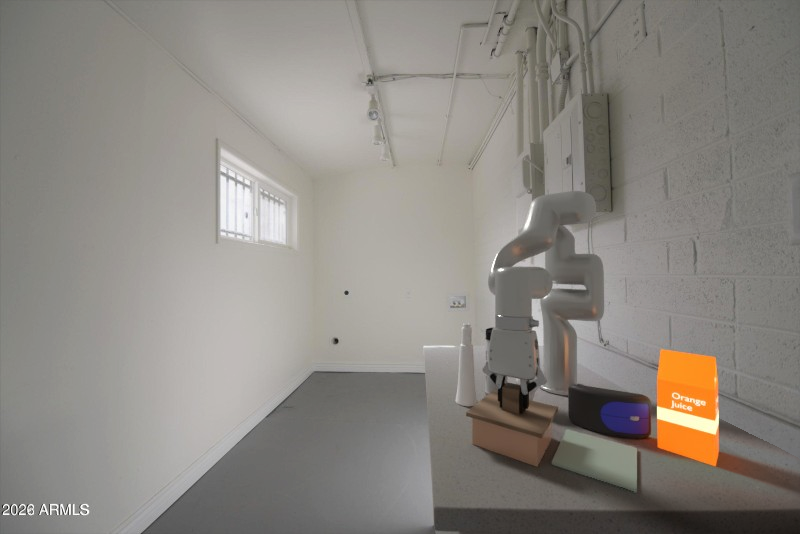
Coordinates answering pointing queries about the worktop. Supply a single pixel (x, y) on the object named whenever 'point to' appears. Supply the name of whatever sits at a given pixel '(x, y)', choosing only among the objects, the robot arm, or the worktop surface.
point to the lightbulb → (531, 393)
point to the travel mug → (489, 383)
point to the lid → (514, 412)
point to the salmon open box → (510, 441)
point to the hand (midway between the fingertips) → (513, 407)
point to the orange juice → (688, 405)
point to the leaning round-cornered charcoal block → (610, 411)
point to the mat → (598, 459)
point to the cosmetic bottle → (466, 370)
